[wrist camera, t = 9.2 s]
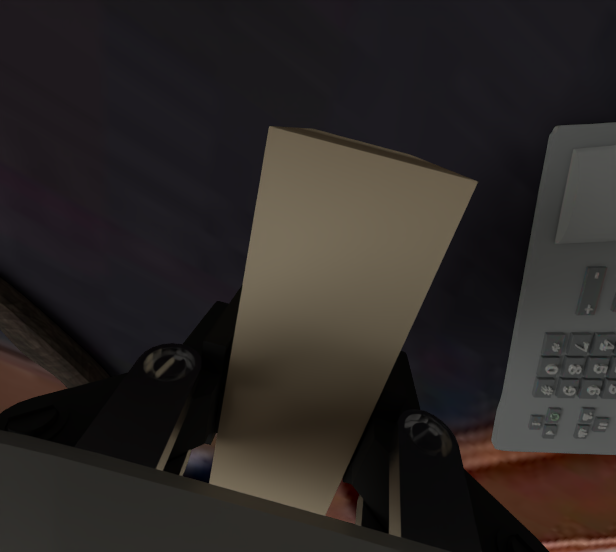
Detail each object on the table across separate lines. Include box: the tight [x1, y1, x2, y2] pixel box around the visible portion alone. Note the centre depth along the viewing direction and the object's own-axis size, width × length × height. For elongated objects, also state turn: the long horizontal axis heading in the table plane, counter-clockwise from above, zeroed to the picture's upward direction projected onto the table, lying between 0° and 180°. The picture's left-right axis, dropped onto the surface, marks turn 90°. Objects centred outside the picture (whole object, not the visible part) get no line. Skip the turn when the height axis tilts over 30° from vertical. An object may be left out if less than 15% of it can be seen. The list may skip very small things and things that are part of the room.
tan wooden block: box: [209, 126, 478, 516], centre depth 10 cm, size 12×3×6 cm, turn 167°
